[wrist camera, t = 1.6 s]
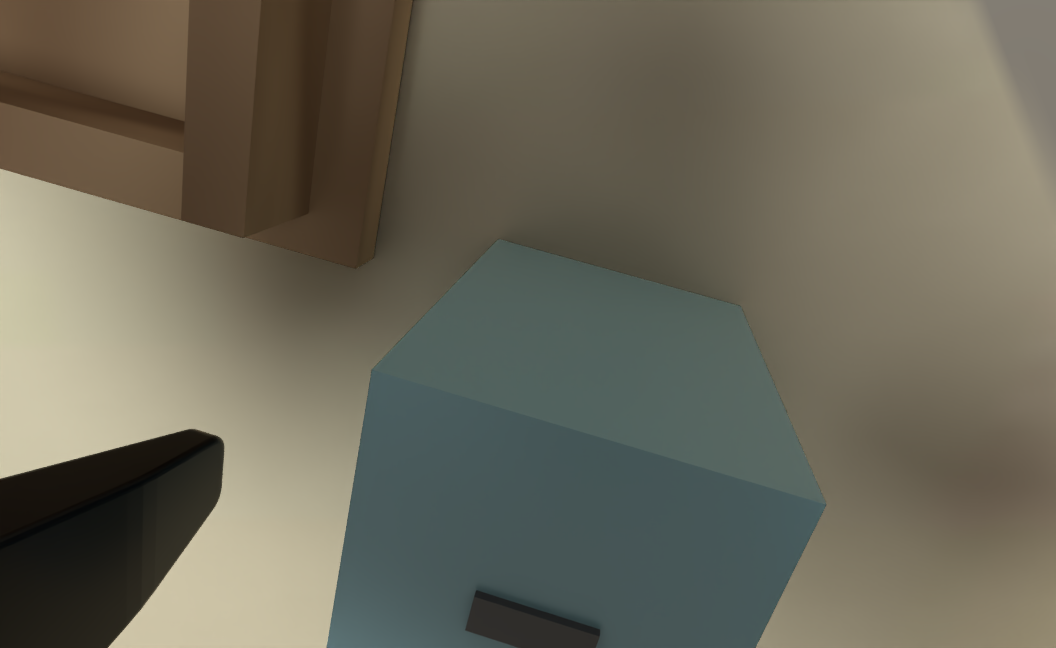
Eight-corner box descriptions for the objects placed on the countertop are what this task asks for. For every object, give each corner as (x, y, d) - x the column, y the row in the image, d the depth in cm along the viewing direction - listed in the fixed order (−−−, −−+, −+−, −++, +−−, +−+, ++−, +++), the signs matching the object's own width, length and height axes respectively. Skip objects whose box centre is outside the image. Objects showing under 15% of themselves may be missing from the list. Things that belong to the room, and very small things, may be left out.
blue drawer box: (740, 305, 12) (829, 511, 6) (655, 526, 14) (662, 843, 8) (499, 238, 12) (367, 373, 6) (447, 463, 14) (311, 722, 8)
